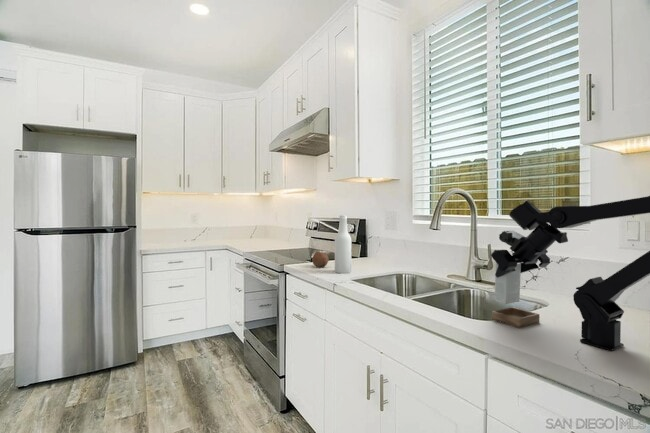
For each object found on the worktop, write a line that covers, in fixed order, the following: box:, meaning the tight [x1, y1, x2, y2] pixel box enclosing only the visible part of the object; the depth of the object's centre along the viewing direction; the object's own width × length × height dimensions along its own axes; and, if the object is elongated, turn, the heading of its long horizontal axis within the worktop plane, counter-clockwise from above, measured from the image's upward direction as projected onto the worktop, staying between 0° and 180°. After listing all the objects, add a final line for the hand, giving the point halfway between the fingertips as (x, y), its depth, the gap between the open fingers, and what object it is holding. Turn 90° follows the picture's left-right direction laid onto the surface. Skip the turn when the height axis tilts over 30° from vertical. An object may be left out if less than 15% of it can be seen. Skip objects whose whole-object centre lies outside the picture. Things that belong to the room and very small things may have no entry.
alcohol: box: [334, 214, 352, 274], centre depth 176 cm, size 9×9×30 cm
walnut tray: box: [491, 306, 540, 329], centre depth 98 cm, size 8×10×2 cm
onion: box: [311, 251, 329, 268], centre depth 192 cm, size 10×9×10 cm
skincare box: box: [494, 262, 522, 305], centre depth 103 cm, size 6×4×12 cm
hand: (503, 275), depth 104 cm, fingers closed on skincare box, 6 cm apart
